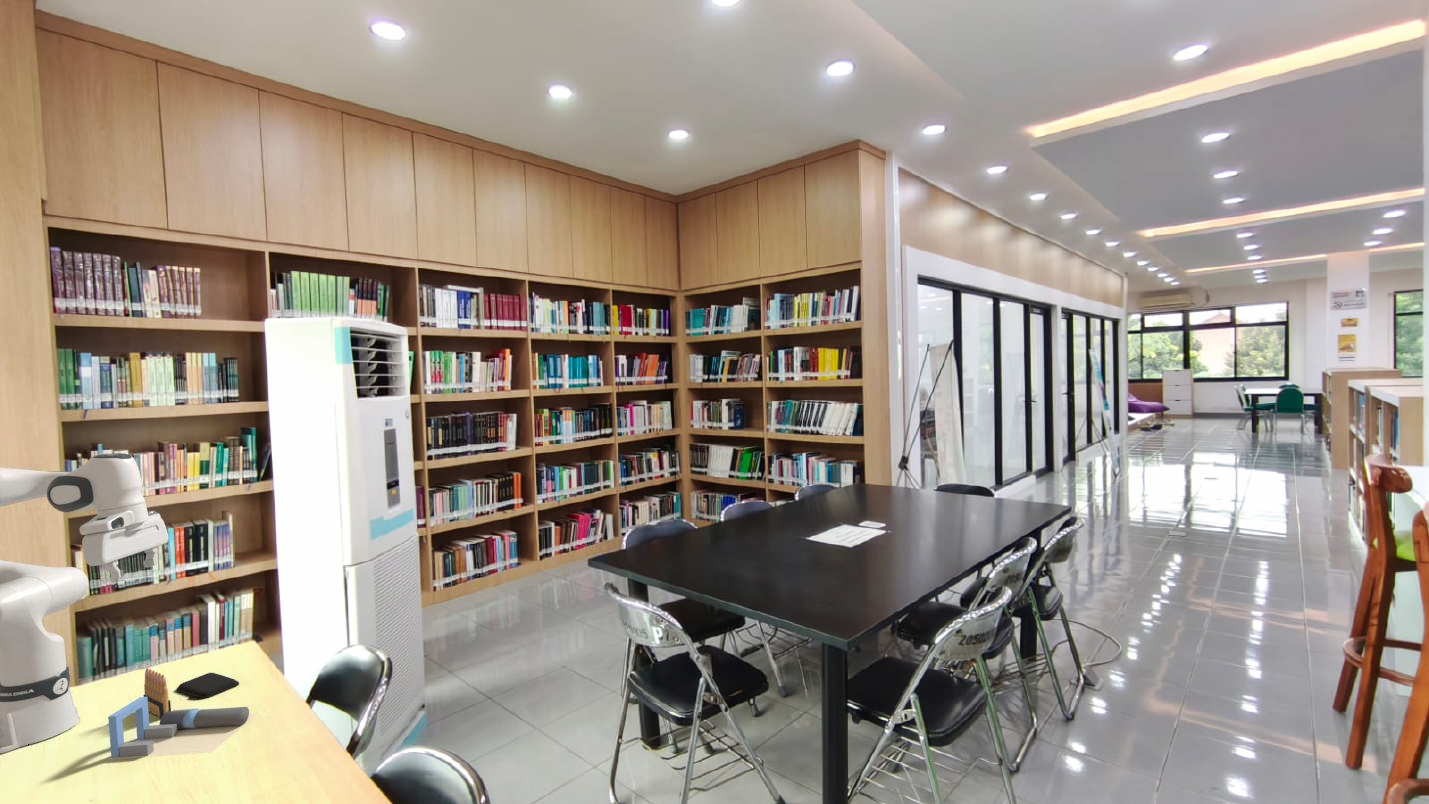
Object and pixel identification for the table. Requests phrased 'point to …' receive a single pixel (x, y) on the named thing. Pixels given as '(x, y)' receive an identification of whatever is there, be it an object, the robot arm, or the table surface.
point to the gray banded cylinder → (206, 717)
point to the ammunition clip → (156, 693)
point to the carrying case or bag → (206, 686)
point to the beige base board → (178, 740)
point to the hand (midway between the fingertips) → (134, 572)
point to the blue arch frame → (117, 723)
